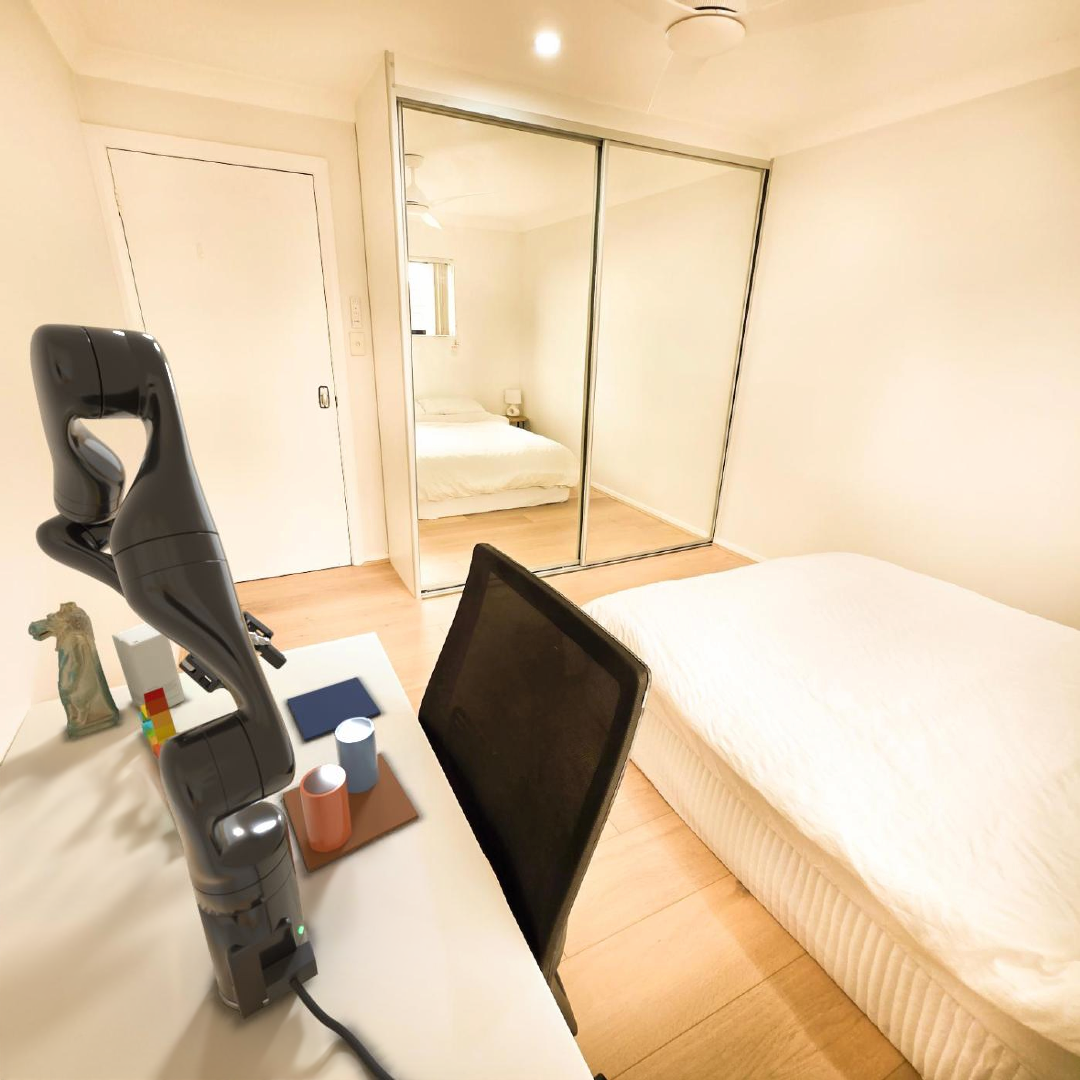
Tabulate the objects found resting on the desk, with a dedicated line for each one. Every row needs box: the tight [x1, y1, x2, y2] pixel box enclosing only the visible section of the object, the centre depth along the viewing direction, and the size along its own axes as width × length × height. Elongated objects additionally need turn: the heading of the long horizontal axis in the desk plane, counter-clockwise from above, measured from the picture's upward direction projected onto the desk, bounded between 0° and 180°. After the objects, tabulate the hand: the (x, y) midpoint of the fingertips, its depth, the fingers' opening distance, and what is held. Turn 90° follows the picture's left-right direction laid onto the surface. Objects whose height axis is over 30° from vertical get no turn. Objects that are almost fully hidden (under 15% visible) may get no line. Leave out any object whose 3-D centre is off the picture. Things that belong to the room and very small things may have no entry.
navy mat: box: [286, 676, 382, 742], centre depth 105 cm, size 14×14×1 cm
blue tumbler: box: [334, 717, 379, 793], centre depth 85 cm, size 6×6×10 cm
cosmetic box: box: [111, 621, 186, 709], centre depth 102 cm, size 8×7×16 cm
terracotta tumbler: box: [299, 764, 352, 852], centre depth 75 cm, size 6×6×10 cm
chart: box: [138, 687, 180, 760], centre depth 86 cm, size 30×3×15 cm, turn 47°
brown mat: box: [282, 752, 420, 873], centre depth 82 cm, size 16×16×1 cm
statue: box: [27, 601, 120, 740], centre depth 94 cm, size 7×8×25 cm
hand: (268, 680), depth 81 cm, fingers open, 8 cm apart
